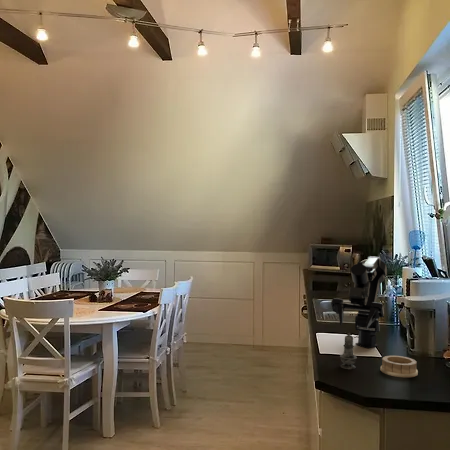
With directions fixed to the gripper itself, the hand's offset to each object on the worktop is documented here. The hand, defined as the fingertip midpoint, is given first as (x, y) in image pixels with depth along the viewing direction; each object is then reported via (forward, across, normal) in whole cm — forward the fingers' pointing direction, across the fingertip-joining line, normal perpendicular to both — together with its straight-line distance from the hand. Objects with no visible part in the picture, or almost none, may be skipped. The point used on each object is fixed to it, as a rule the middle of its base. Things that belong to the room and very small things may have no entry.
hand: (353, 326), depth 182 cm
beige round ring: (+12, +17, +7) cm, 21 cm away
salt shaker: (+14, 0, +4) cm, 15 cm away
